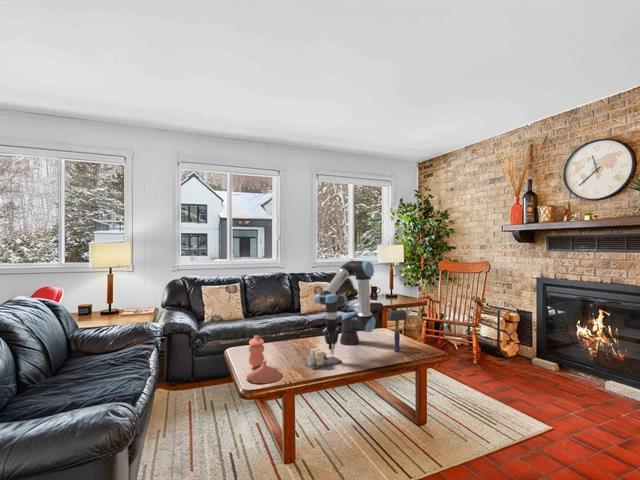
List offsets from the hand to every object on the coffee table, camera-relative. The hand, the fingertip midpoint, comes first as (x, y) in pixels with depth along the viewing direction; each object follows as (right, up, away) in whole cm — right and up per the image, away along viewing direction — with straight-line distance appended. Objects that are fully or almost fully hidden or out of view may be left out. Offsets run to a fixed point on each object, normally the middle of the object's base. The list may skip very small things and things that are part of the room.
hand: (331, 354), depth 227 cm
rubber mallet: (+47, -5, +20) cm, 51 cm away
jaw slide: (-5, -3, -5) cm, 8 cm away
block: (-10, -4, -6) cm, 12 cm away
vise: (-5, -5, -4) cm, 8 cm away
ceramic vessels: (-43, -6, -17) cm, 47 cm away
